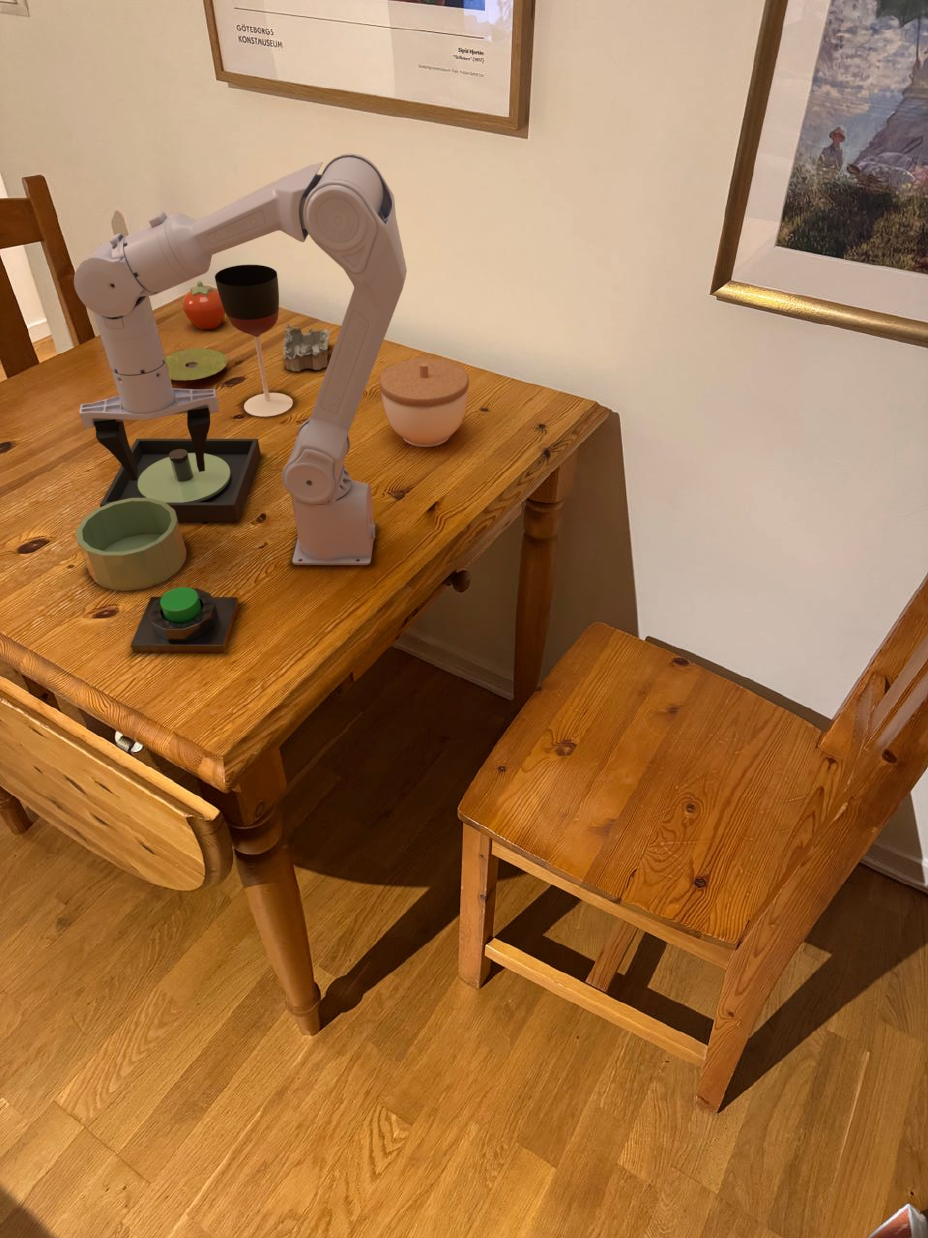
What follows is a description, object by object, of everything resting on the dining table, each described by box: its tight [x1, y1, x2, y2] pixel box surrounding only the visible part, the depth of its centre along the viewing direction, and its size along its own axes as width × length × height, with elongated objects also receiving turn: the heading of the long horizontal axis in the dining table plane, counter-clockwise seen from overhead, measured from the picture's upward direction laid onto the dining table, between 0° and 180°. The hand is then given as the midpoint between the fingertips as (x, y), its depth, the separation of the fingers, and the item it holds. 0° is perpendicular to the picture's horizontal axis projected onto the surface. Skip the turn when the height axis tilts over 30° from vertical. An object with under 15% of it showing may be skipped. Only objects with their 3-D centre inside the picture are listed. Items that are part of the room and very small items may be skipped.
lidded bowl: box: [378, 357, 470, 448], centre depth 123 cm, size 13×13×11 cm
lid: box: [138, 449, 231, 502], centre depth 115 cm, size 12×12×5 cm
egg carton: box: [282, 323, 330, 372], centre depth 144 cm, size 11×8×4 cm
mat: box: [165, 347, 228, 382], centre depth 141 cm, size 11×11×2 cm
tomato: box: [182, 280, 226, 330], centre depth 153 cm, size 7×7×8 cm
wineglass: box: [214, 264, 294, 417], centre depth 127 cm, size 8×9×20 cm
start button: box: [160, 586, 201, 622], centre depth 94 cm, size 4×4×2 cm
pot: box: [75, 498, 187, 592], centre depth 104 cm, size 11×11×5 cm
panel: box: [130, 587, 240, 654], centre depth 96 cm, size 10×8×3 cm
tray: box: [99, 438, 262, 523], centre depth 116 cm, size 17×16×3 cm
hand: (168, 471), depth 101 cm, fingers open, 7 cm apart
